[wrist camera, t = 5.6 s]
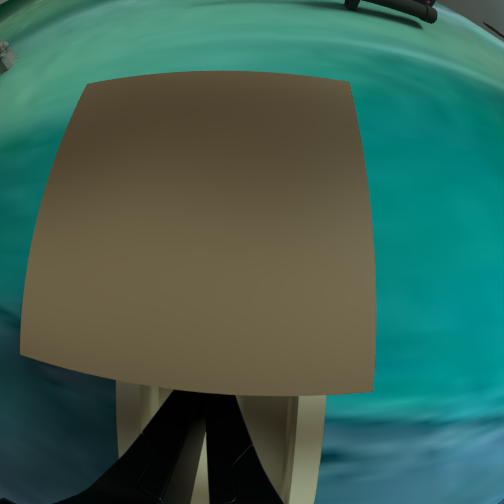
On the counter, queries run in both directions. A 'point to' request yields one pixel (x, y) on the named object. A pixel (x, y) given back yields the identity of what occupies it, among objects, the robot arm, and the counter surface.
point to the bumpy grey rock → (6, 56)
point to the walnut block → (208, 238)
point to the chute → (261, 432)
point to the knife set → (404, 7)
